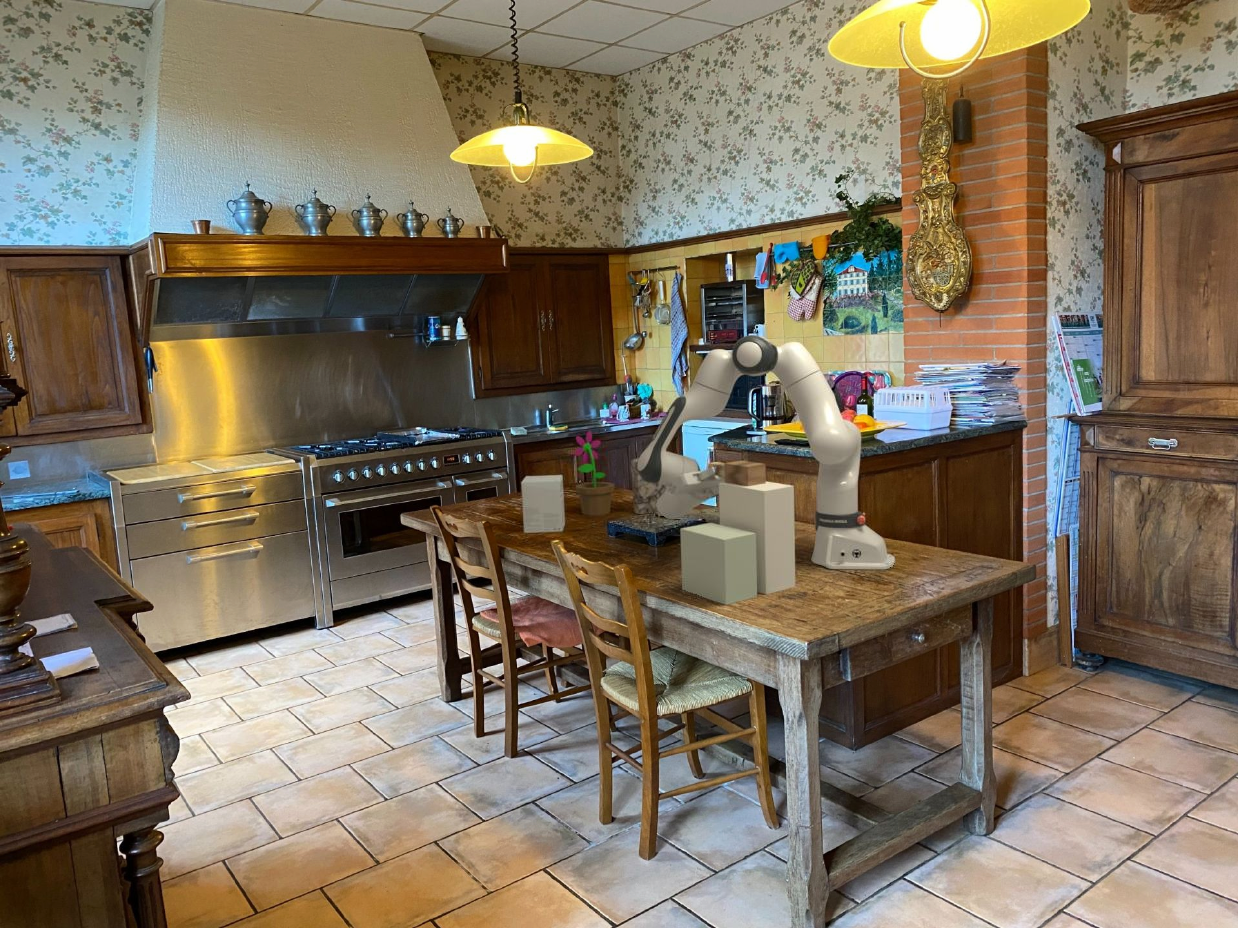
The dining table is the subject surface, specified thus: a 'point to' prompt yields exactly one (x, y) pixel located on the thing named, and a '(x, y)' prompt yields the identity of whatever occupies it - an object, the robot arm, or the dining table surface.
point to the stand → (742, 545)
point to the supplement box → (543, 503)
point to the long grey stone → (707, 514)
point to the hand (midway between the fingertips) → (722, 467)
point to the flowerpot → (596, 493)
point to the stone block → (644, 492)
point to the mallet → (741, 472)
